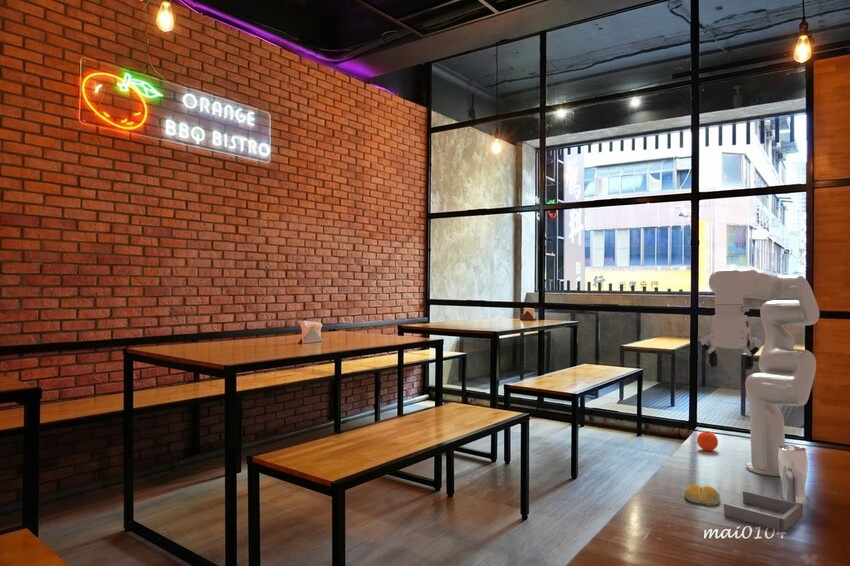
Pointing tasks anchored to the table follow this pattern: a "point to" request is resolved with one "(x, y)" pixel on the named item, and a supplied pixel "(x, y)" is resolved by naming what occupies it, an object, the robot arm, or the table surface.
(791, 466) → the beer glass
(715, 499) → the bread roll
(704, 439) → the clementine
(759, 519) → the frame
